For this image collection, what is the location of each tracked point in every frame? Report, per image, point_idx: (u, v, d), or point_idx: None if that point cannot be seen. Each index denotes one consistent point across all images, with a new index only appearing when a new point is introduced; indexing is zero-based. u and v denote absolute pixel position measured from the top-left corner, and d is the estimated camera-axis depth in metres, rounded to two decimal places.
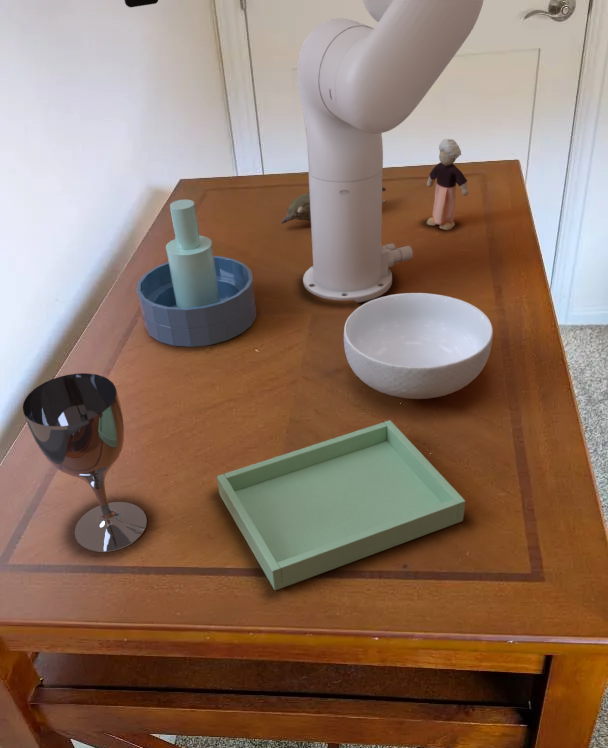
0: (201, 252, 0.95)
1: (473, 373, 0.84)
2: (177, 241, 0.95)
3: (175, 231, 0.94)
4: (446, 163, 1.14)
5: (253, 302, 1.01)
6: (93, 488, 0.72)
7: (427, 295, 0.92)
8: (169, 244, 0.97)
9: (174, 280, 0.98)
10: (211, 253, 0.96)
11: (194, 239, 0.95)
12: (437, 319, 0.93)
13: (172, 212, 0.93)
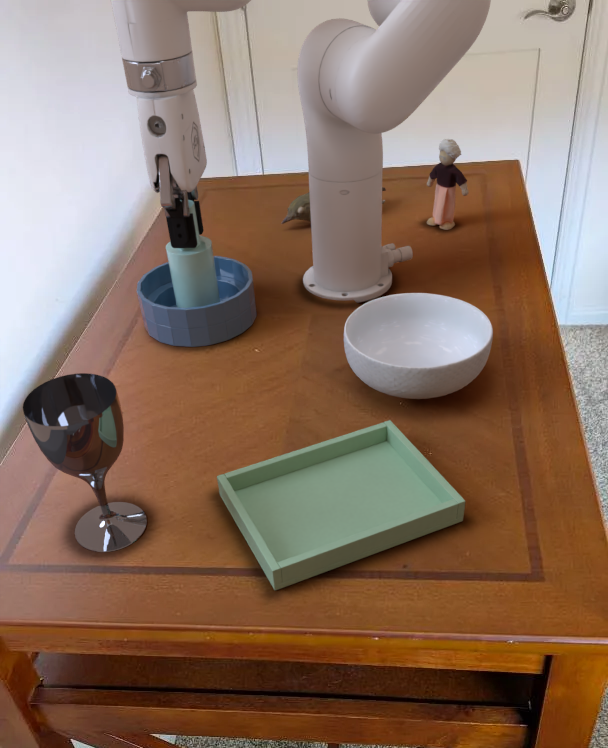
0: (201, 252, 0.95)
1: (473, 373, 0.84)
2: None
3: None
4: (446, 163, 1.14)
5: (253, 302, 1.01)
6: (93, 488, 0.72)
7: (426, 295, 0.92)
8: (169, 244, 0.97)
9: (174, 280, 0.98)
10: (211, 253, 0.96)
11: None
12: (437, 319, 0.93)
13: None
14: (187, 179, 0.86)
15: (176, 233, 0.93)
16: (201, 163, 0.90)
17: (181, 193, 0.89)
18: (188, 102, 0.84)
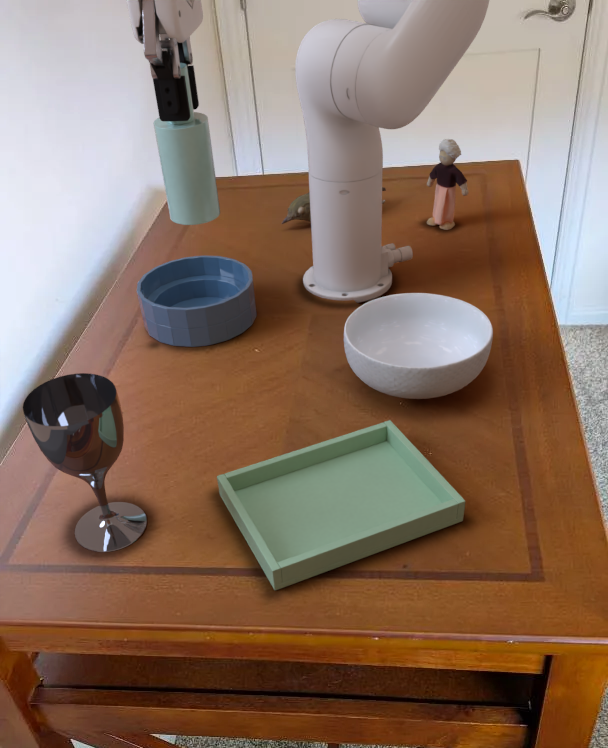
0: (195, 126, 0.80)
1: (473, 373, 0.84)
2: None
3: None
4: (446, 163, 1.14)
5: (253, 302, 1.01)
6: (93, 488, 0.72)
7: (426, 295, 0.92)
8: (158, 120, 0.82)
9: (163, 164, 0.83)
10: (207, 130, 0.82)
11: None
12: (437, 319, 0.93)
13: None
14: (176, 23, 0.71)
15: (165, 100, 0.78)
16: (195, 13, 0.76)
17: (170, 46, 0.74)
18: None
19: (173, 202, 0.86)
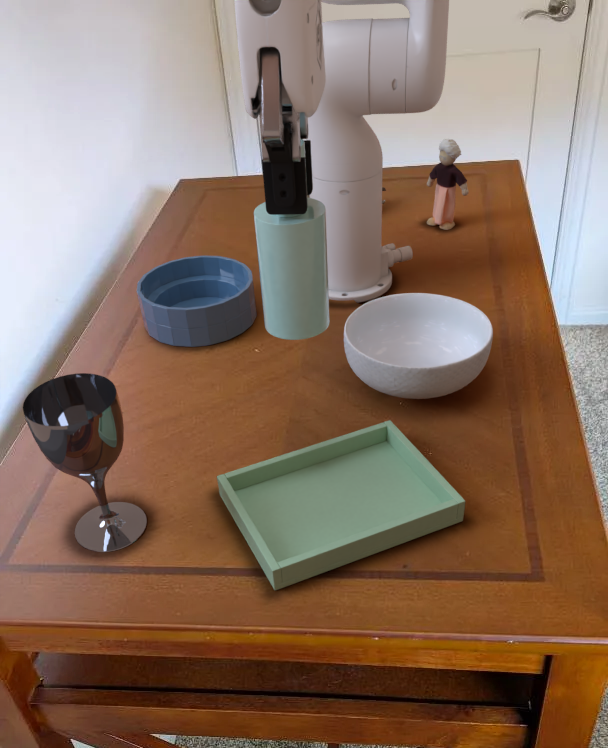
0: (312, 221, 0.60)
1: (473, 373, 0.84)
2: None
3: None
4: (446, 163, 1.14)
5: (253, 302, 1.01)
6: (93, 488, 0.72)
7: (427, 295, 0.92)
8: (258, 209, 0.62)
9: (264, 266, 0.63)
10: (324, 223, 0.62)
11: None
12: (438, 319, 0.93)
13: None
14: (308, 93, 0.51)
15: (278, 189, 0.58)
16: (322, 74, 0.56)
17: (292, 121, 0.54)
18: None
19: (273, 312, 0.66)
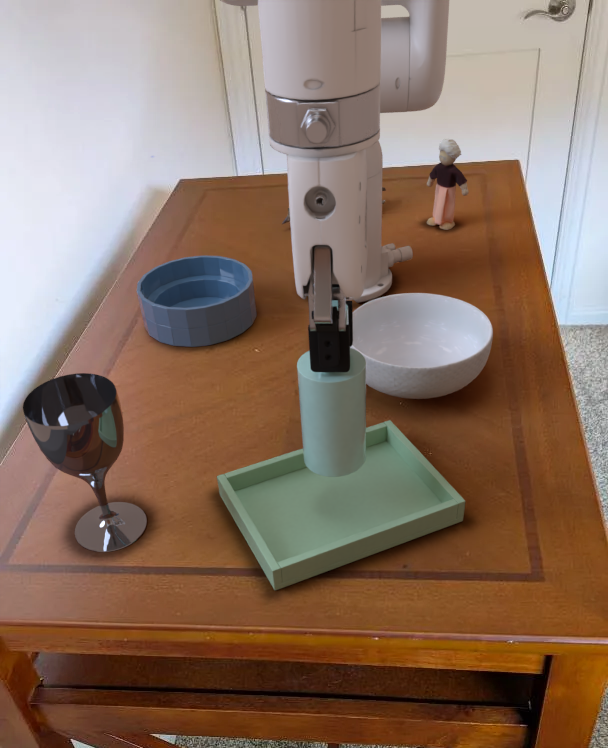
0: (354, 377, 0.63)
1: (473, 373, 0.84)
2: None
3: None
4: (446, 163, 1.14)
5: (253, 302, 1.01)
6: (93, 488, 0.72)
7: (427, 295, 0.92)
8: (301, 362, 0.65)
9: (306, 414, 0.66)
10: (365, 376, 0.64)
11: None
12: (437, 319, 0.93)
13: None
14: (358, 282, 0.54)
15: (323, 353, 0.61)
16: None
17: (339, 298, 0.57)
18: (364, 161, 0.53)
19: (313, 453, 0.68)
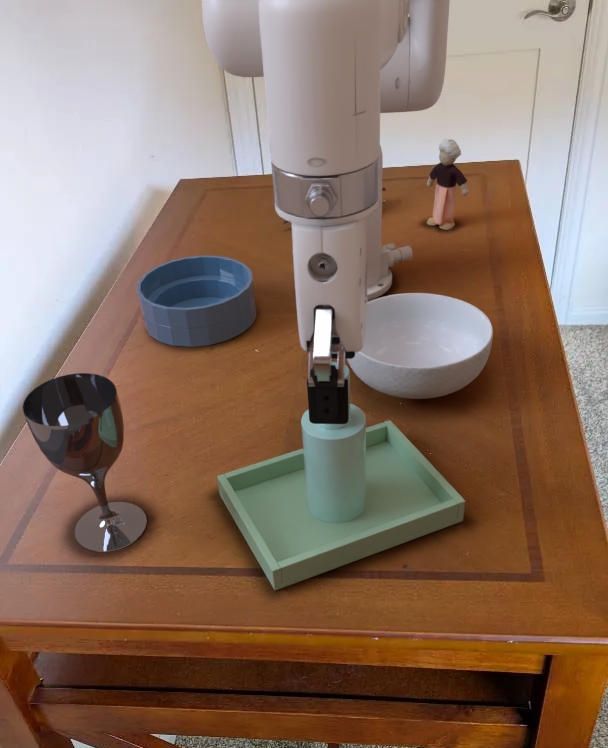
0: (355, 434, 0.67)
1: (473, 373, 0.84)
2: None
3: None
4: (446, 163, 1.14)
5: (253, 302, 1.01)
6: (93, 488, 0.72)
7: (427, 295, 0.92)
8: (305, 418, 0.69)
9: (310, 466, 0.70)
10: (365, 431, 0.69)
11: None
12: (438, 319, 0.93)
13: None
14: (358, 338, 0.57)
15: (322, 407, 0.61)
16: None
17: (339, 349, 0.59)
18: (364, 225, 0.56)
19: (316, 501, 0.72)
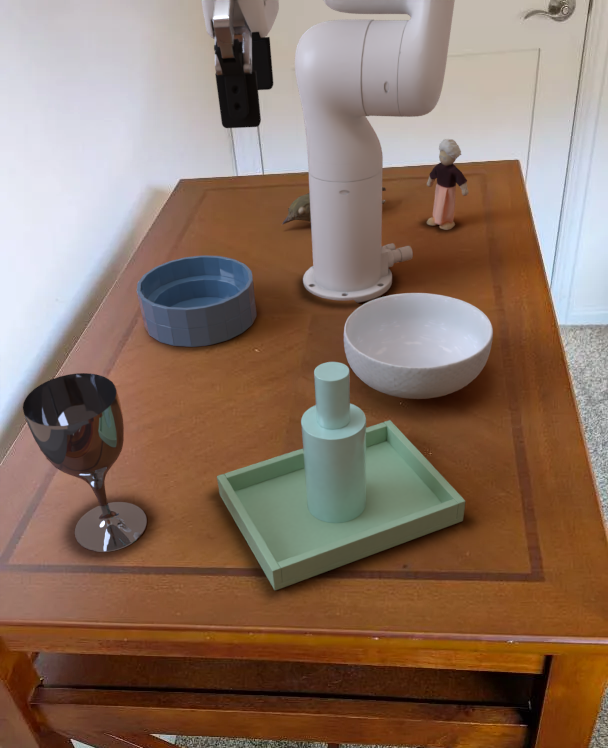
0: (355, 434, 0.67)
1: (473, 373, 0.84)
2: (320, 418, 0.67)
3: (319, 406, 0.67)
4: (446, 163, 1.14)
5: (253, 302, 1.01)
6: (93, 488, 0.72)
7: (426, 295, 0.92)
8: (305, 418, 0.69)
9: (310, 466, 0.70)
10: (365, 431, 0.69)
11: (345, 416, 0.67)
12: (437, 319, 0.93)
13: (318, 383, 0.65)
14: (261, 14, 0.58)
15: (231, 102, 0.62)
16: (275, 0, 0.62)
17: (244, 31, 0.59)
18: None
19: (316, 501, 0.72)
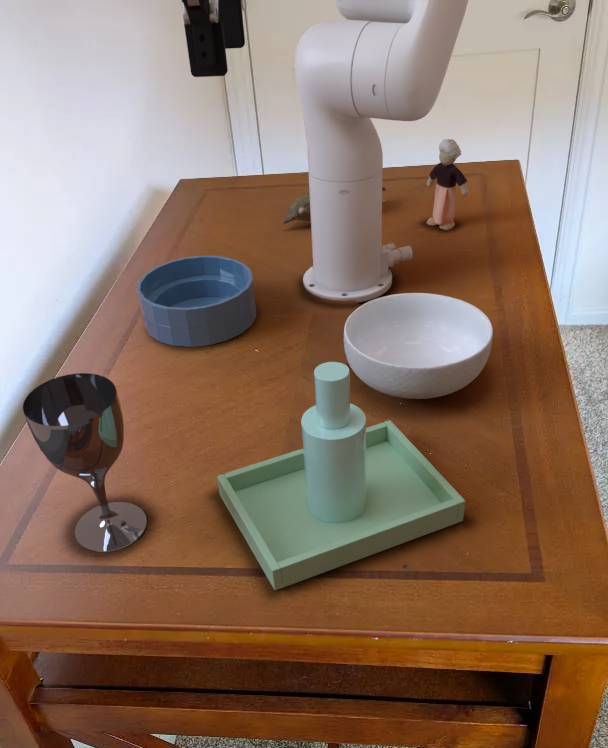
0: (355, 434, 0.67)
1: (473, 373, 0.84)
2: (320, 418, 0.67)
3: (319, 406, 0.67)
4: (446, 163, 1.14)
5: (253, 302, 1.01)
6: (93, 488, 0.72)
7: (427, 295, 0.92)
8: (305, 418, 0.69)
9: (310, 466, 0.70)
10: (365, 431, 0.69)
11: (345, 416, 0.67)
12: (437, 319, 0.93)
13: (318, 383, 0.65)
14: None
15: (199, 50, 0.66)
16: None
17: None
18: None
19: (316, 501, 0.72)
